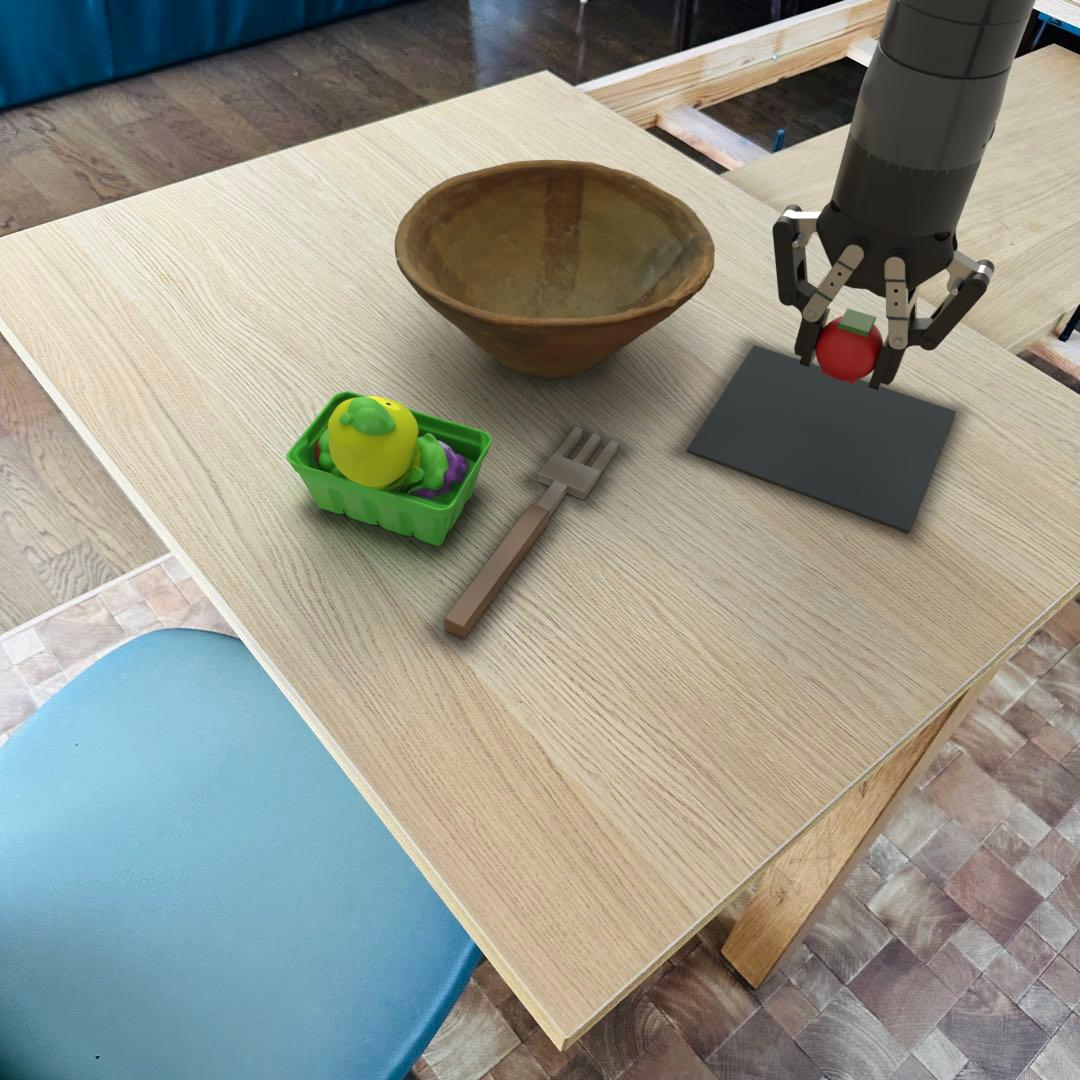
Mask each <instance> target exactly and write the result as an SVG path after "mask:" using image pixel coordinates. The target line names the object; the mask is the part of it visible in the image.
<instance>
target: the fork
mask: <svg viewBox="0 0 1080 1080" xmlns="http://www.w3.org/2000/svg"><path fill="white" fill-rule="evenodd" d="M582 438H583V428H580V427H577V426H575V427H574V428H573V429H572V431H571V432H570V433H569V434H568V436H567V437H566V438H565V439H564V441H563V443H562V444H560V446H559V447H558V449H557V450H556V452H554V453H552V454H551V456H550V457H549V458H548V460H547V461H546V462H545V463H544V465H543V466H542V467H541V469H540V470H539V471H538V473H537V482H538V483H540V484H542V485H546V486H547V487H548V488H547V490H545V492H544V494H543V495H542V496H541V497H540V499H539V500H538V501H537V503H536V504H535V503H530V504H529V505H528V507H527V508H526V509H525V511H524V512H523V513H522V515H521V516H520V517H519V518H518V520H517V521H516V522H515V523H514V525H513V526H512V528H511V529H510V530H509V531H508V533H507V534H506V536H504V538H503V540H502V541H501V542H500V544H499V545H498V546H497V548H496V549H495V550H494V551H493V553H492V554H491V556H489V558H488V559H487V561H486V562H485V563H484V564H483V566H482V567H481V569H480V570H479V571H478V572H477V574H476V575H475V577H474V578H473V579H472V581H471V582H470V583H469V585H468V586H467V588H465V590H464V591H463V592H462V594H461V595H460V596H459V597H458V599H457V600H456V602H455V603H454V605H453V606H452V607H451V609H449V610H448V612H447V614H446V615H445V616H444V618H443V628H444V631H446V632H447V633H449V634H451V635H454V636H456V637H458V638H461V639H463V640H464V639H465V638H466V637H467V636H468V634H469V633H470V632H471V630H472V629H473V627H474V626H475V625H476V624H477V622H478V620H479V619H480V618H481V616H482V615H483V613H485V611H486V610H487V608H488V607H489V605H490V604H491V603H492V602H493V600H494V599H495V597H496V596H497V594H498V593H499V591H500V590H501V589H502V588H503V586H504V584H506V582H507V581H508V579H509V578H510V577H511V575H512V574H513V573H514V571H515V570H516V569H517V567H518V566H519V564H520V563H521V561H522V560H523V559H524V558H525V556H526V555H527V553H528V552H529V550H530V549H531V548H532V546H533V545H534V544H535V542H536V541H537V539H538V538H539V537H540V535H541V534H542V532H543V531H544V530H545V529H546V527H547V525H548V524H549V522H550V517H551V516H552V514H553V513H554V512H555V510H556V509H557V508H558V506H559V505H560V503H561V502H562V500H564V498H565V497H566V495H567V494H568V495H571V496H573V497H576V498H578V499H581V500H585V499H586V497H588V495H589V493H590V492H591V491H592V489H593V488H594V487H595V485H596V484H597V482H598V480H599V479H600V476H601V474H602V473H603V472H604V470H605V469H606V468H607V466H608V464H609V463H610V462H611V460H612V459H613V457H614V456H615V455H616V453H617V452H618V447H619V442H618V441H615V440H612V439H610V441H609V442H608V443H607V444H606V446H605V447H604V449H603V450H602V451H601V453H600V454H599V455H598V457H597V458H596V459H595V461H594V462H593V464H592V465H591V466H588V465H587V464H586V463H587V462H588V460H589V459H590V457H591V456H592V455H593V454H594V452H595V451H596V449H597V448H598V447H599V445H600V441H601V436H600V435H599V434H595V433H592V434H591V436H590V437H589V438H588V439H587V440H586V442H585V443H584V444H583V446H582V448H581V449H580V450H579V451H578V453H577V454H576V456H575V457H574V458H573V459H570V458H568V457H569V455H570V454H571V452H573V450H574V448H575V447H576V446H577V445H578V443H579V441H581V439H582ZM585 464H586V465H585Z"/></svg>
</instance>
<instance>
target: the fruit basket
mask: <svg viewBox="0 0 1080 1080" xmlns="http://www.w3.org/2000/svg"><path fill="white" fill-rule="evenodd" d="M492 442H493V439H492V436H491V435H490V433H489V432H487V431H484V430H483V429H479V428H475V427H472V426H469V425H465V424H461V423H458V422H455V421H452V420H447V419H444V418H442V417H438V416H434V415H431V414H427V413H424V412H421V411H416V410H414V409H411V408H407V407H406V406H405V405H403V404H402V403H400V402H399V401H396V400H394V399H391V398H387V397H382V396H377V395H376V396H374V395H367V396H366V395H364V394H360V393H356V392H353V391H341V392H340V391H339V392H337V393H336V394H334V395H333V396H331V398H330V399H329V400H328V402H327V403H326V405H325V406H324V407H323V408H322V409H321V411H320V412H319V413H318V414H317V415H316V417H315V419H314V420H313V421H312V422H311V423H310V424H309V426H307V428H306V430H304V431H303V433H302V434H301V435H300V436H299V438H298V439H297V440H296V441H295V442H294V444H293V445H292V446H291V448H289V450H288V451H287V453H286V457H285V458H286V460H287V462H288V463H289V465H290V466H291V467H292V469H293V470H294V471H295V472H296V473H297V474H298V475H299V477H300V479H301V480H302V481H303V483H304V485H305V486H306V488H307V490H308V491H309V493H310V495H311V496H312V499H314V501H315V503H316V505H317V506H318V508H320V509H322V510H324V511H326V512H327V511H328V512H331V513H334V514H338V515H345V514H346V516H347V517H349V518H350V519H353V520H355V521H359V522H361V523H365V524H368V525H374V526H378V525H379V526H380V527H382V529H384V530H387V531H390V532H393V533H396V534H398V535H401V536H407V537H408V536H409V537H414V538H416V539H418V541H421V542H424V543H427V544H429V545H433V546H437V547H440V546H442V545H443V543H444V542H445V540H446V537H447V533H448V532H450V531H451V530H452V529H453V527H454V525H455V524H456V522H457V520H458V519H459V517H460V516H461V514H462V512H463V510H464V507H465V504H466V503H467V502H469V501H470V499H471V497H472V494H473V493H474V492H473V491H474V488H475V486H476V482H477V479H478V477H479V473H480V471H481V468H482V465H483V462H484V460H485V458H486V457H487V455H488V453H489V450H490V448H491V445H492Z"/></svg>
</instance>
